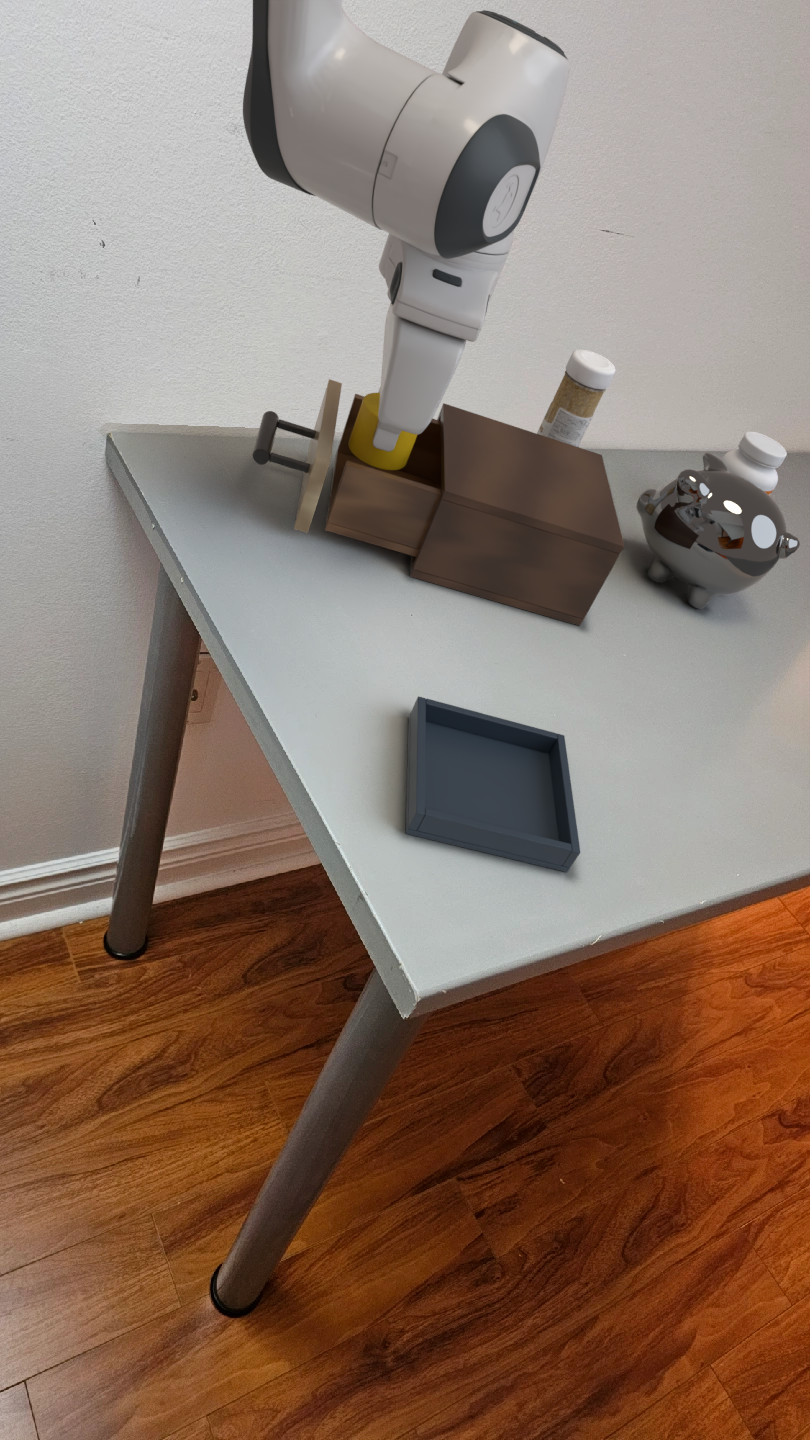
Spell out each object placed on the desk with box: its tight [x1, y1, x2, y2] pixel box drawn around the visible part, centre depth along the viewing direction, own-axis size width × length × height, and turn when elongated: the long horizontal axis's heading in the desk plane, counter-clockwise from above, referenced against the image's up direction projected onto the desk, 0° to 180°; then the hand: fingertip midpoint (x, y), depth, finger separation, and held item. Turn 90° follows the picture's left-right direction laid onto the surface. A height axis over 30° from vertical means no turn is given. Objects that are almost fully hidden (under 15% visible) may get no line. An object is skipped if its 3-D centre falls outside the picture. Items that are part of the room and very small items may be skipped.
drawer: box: [252, 378, 442, 557], centre depth 91 cm, size 19×14×7 cm
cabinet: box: [409, 402, 625, 626], centre depth 93 cm, size 16×16×9 cm
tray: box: [405, 695, 581, 873], centre depth 72 cm, size 11×11×2 cm
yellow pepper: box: [349, 392, 418, 470], centre depth 88 cm, size 5×5×5 cm
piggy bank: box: [635, 452, 801, 610], centre depth 100 cm, size 11×15×12 cm
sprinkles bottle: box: [536, 348, 616, 447], centre depth 105 cm, size 5×5×14 cm
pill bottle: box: [720, 430, 788, 497], centre depth 110 cm, size 6×6×11 cm
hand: (383, 427), depth 88 cm, fingers closed on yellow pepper, 5 cm apart
